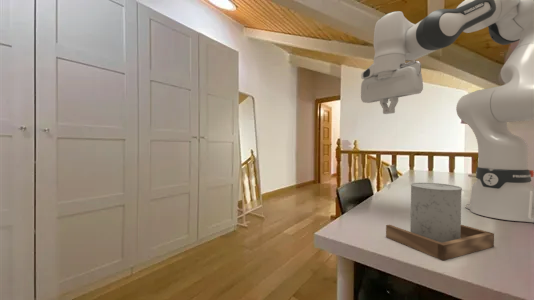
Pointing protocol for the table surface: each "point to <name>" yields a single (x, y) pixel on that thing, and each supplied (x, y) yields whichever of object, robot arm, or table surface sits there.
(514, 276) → the table surface
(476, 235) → the walnut corral
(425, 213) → the grey speckled cylinder
